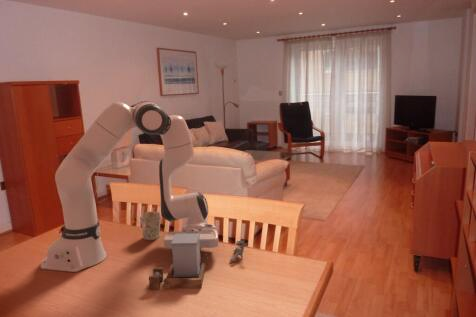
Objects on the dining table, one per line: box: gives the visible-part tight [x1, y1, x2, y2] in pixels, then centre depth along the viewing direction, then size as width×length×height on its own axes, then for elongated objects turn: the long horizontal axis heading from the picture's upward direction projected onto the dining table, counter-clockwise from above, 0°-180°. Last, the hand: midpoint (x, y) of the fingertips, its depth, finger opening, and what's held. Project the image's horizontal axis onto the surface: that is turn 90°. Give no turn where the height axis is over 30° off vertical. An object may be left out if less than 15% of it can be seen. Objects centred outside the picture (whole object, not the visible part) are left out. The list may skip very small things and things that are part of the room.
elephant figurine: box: [229, 240, 249, 263], centre depth 131 cm, size 10×6×9 cm
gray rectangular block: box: [171, 233, 202, 278], centre depth 121 cm, size 8×7×12 cm
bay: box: [148, 254, 208, 291], centre depth 121 cm, size 16×19×4 cm
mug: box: [139, 210, 161, 241], centre depth 148 cm, size 8×13×10 cm, turn 174°
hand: (188, 250), depth 125 cm, fingers closed, pressing on gray rectangular block
